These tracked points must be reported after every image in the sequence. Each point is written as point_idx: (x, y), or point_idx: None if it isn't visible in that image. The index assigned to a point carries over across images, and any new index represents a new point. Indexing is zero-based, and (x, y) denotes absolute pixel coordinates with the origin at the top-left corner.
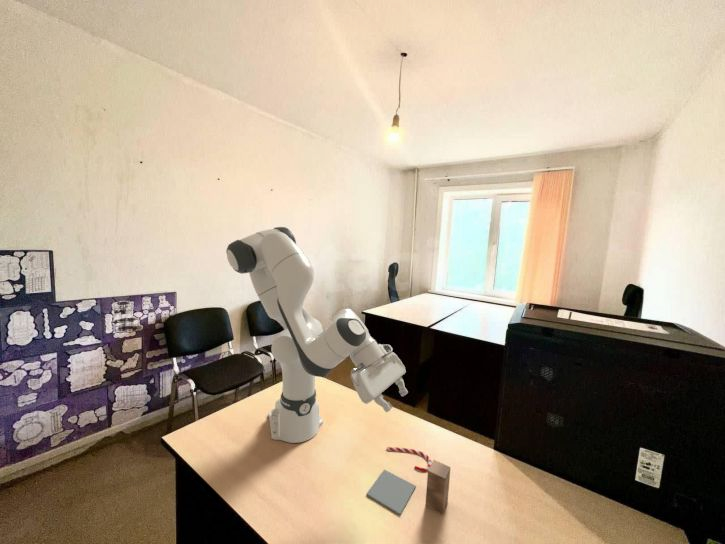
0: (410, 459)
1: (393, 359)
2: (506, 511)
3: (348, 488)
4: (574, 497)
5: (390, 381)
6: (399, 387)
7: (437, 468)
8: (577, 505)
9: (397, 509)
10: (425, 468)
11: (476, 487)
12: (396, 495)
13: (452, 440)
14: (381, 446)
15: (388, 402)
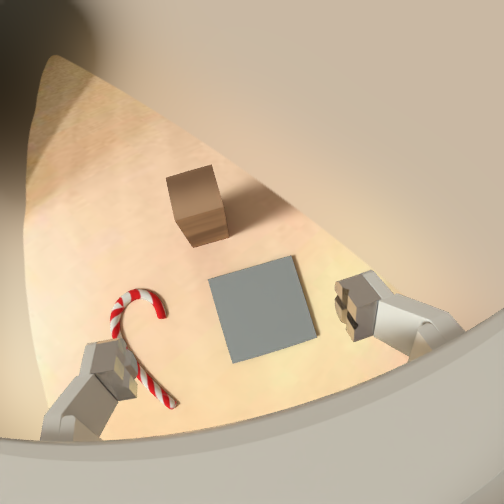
0: (149, 343)
1: None
2: (127, 143)
3: (335, 374)
4: (46, 110)
5: (253, 443)
6: (104, 414)
7: (196, 194)
8: (58, 103)
9: (289, 265)
10: (148, 294)
11: (112, 197)
12: (265, 290)
13: (32, 304)
14: (178, 422)
15: (367, 302)
